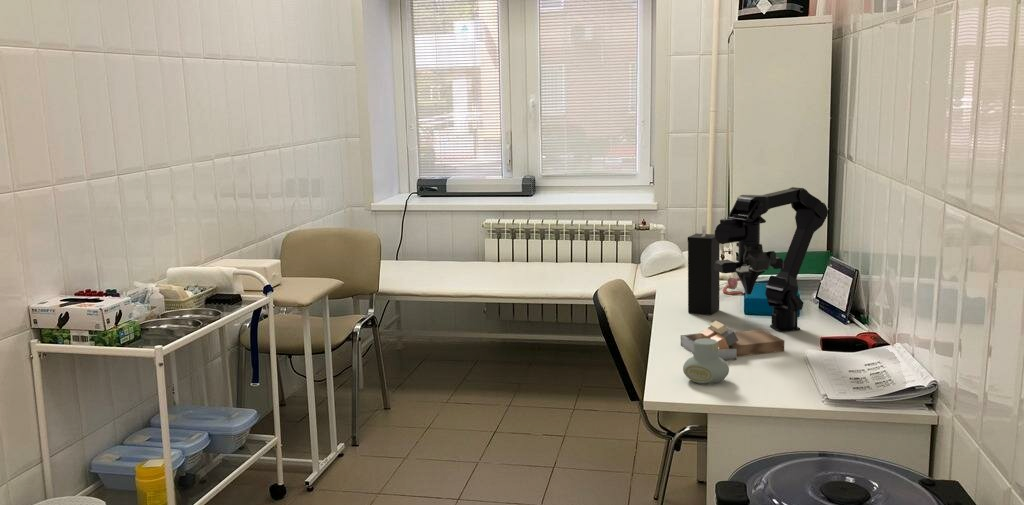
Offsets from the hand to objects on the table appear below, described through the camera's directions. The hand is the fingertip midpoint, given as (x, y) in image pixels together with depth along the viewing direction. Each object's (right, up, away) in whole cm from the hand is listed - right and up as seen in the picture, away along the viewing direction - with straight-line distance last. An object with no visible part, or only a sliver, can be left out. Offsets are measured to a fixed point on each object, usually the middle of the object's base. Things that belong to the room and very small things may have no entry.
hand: (748, 294), depth 243 cm
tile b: (-10, -12, -14) cm, 21 cm away
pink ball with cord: (+6, -4, +54) cm, 55 cm away
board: (-3, -14, -9) cm, 17 cm away
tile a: (-12, -11, -8) cm, 18 cm away
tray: (-14, -15, -11) cm, 24 cm away
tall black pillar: (-5, -7, +32) cm, 34 cm away
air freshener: (-20, -20, -34) cm, 44 cm away
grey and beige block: (-9, -12, -11) cm, 18 cm away
